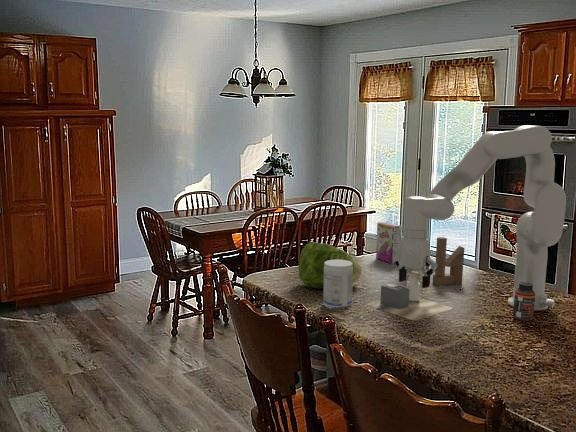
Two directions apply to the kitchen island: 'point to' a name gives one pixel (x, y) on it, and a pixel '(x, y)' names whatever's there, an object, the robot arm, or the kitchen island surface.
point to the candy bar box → (388, 241)
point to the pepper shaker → (413, 286)
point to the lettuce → (321, 263)
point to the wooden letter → (448, 264)
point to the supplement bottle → (524, 302)
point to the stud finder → (394, 296)
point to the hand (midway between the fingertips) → (414, 284)
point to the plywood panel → (414, 309)
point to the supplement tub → (337, 283)
